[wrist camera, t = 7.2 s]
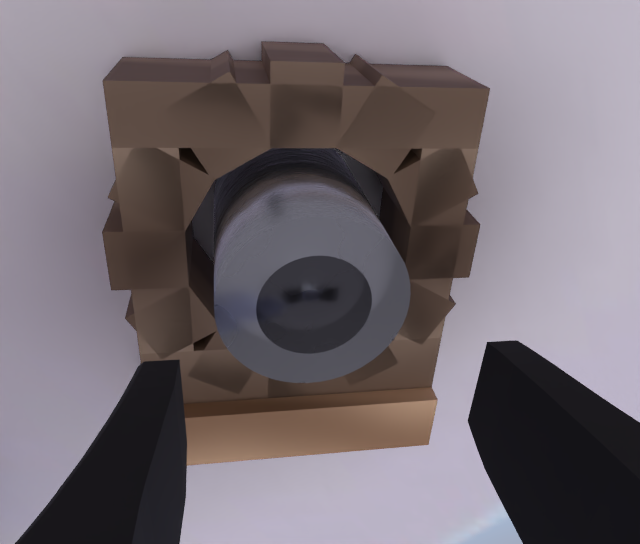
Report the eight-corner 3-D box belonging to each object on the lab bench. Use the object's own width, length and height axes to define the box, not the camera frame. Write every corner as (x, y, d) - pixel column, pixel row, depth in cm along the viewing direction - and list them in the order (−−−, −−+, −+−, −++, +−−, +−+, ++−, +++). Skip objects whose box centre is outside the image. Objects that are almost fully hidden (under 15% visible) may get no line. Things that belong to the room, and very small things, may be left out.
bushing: (354, 253, 19) (407, 369, 14) (223, 269, 18) (228, 395, 13) (353, 124, 17) (415, 205, 12) (203, 138, 16) (199, 229, 11)
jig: (409, 383, 22) (440, 454, 19) (148, 401, 21) (136, 481, 18) (466, 48, 16) (525, 72, 13) (100, 36, 14) (68, 60, 11)
